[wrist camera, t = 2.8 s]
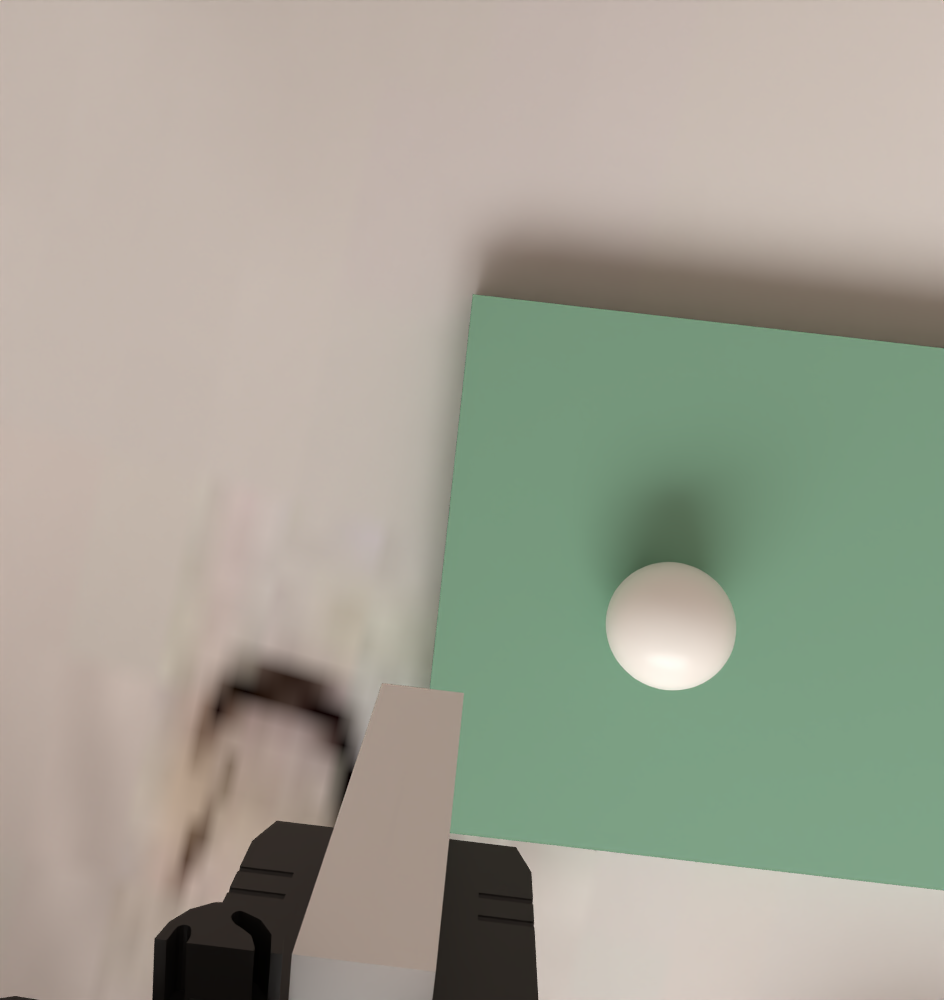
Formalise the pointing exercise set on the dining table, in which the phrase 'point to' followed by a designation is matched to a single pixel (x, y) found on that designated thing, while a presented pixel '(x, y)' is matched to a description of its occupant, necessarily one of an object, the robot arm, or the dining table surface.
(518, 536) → the green slab with pocket
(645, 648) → the ball
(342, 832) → the robot arm
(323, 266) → the dining table surface
